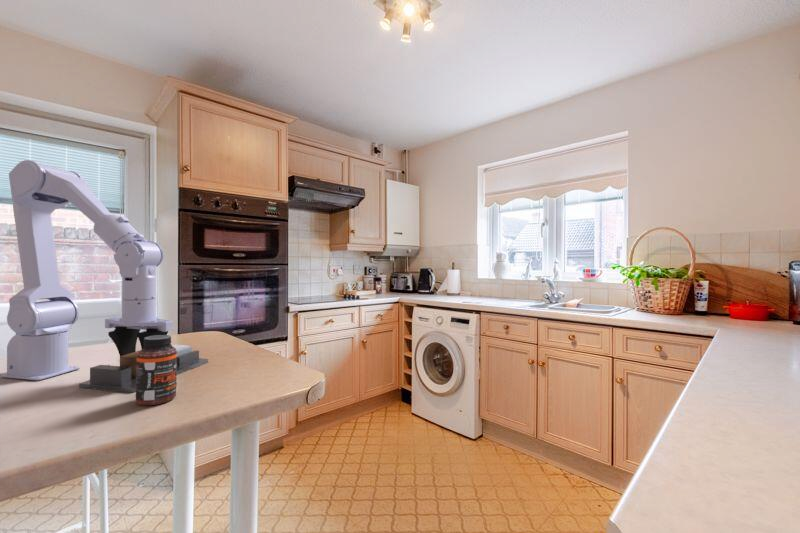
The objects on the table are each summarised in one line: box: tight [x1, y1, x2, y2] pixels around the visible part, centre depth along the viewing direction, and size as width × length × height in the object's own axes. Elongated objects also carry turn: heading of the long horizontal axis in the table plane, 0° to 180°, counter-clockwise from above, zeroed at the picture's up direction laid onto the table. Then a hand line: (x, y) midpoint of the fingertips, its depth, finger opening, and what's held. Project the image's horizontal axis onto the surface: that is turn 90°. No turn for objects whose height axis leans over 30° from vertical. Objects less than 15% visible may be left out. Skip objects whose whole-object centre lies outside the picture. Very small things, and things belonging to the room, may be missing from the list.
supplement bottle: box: [135, 334, 178, 406], centre depth 62 cm, size 6×6×11 cm
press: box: [78, 350, 209, 393], centre depth 76 cm, size 12×20×4 cm, turn 171°
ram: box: [171, 344, 193, 357], centre depth 82 cm, size 5×5×3 cm
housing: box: [119, 350, 140, 377], centre depth 74 cm, size 4×6×4 cm
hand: (138, 363), depth 73 cm, fingers closed on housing, 4 cm apart
